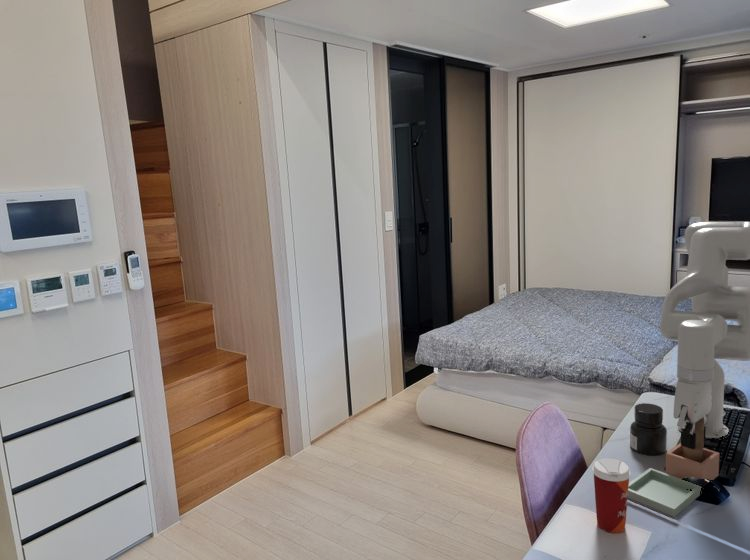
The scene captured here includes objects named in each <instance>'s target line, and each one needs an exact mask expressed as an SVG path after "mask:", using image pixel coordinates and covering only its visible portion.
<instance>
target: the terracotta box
mask: <svg viewBox="0 0 750 560" xmlns="http://www.w3.org/2000/svg"><path fill="white" fill-rule="evenodd" d="M682 452H683V446H682V445H681V442H680V443H678V444H676V445H675V446H673V448H671V449H670V450H668V451H666V452H665V473H666V474H669V475H671V476H674V477H677V478H680V479H683V478H685V477H694V478H701V479H709V480H713V481H714V480H715V479H716V478H718V476H719V475H720V474H719V472H720V452H718V451H714V450H713V449H712V450H711V449H708V448H705V447H703V462H702V463H699V462H696V461H693V460H690V459H687V458H684V457H682Z"/></svg>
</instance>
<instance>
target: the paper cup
mask: <svg viewBox="0 0 750 560" xmlns="http://www.w3.org/2000/svg"><path fill="white" fill-rule="evenodd" d="M591 472H592V473H593V483H594V485H593V486H594V498H595V499H594V500H595V510H596V511H595V512H596V523H597V526H598V528H599V529H600V530H601V531H603V532H606V533H608V534H621V533H623V532H624V531H625V530H626V523H627V512H628V511H627V510H628V499H629V498H628V486H629V482H630V478H631V475H632V473H631V470H630V468H629V466H628V464H626V463H625V462H624V461H621V460H619V459H615V458H614V459H613V458H601V459H598V460H596V461H595V462H594V463H593V466H592V468H591Z"/></svg>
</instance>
